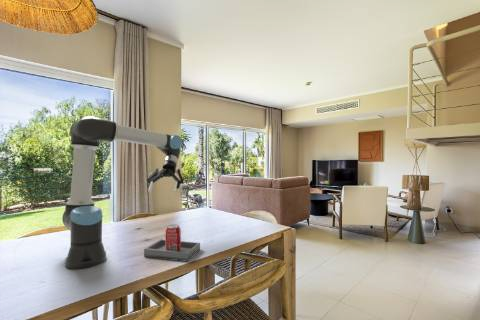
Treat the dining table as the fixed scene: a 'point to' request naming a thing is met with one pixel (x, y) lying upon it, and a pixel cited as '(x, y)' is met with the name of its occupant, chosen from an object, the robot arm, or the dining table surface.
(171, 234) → the soda can
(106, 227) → the dining table surface
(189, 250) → the tray
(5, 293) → the dining table surface
